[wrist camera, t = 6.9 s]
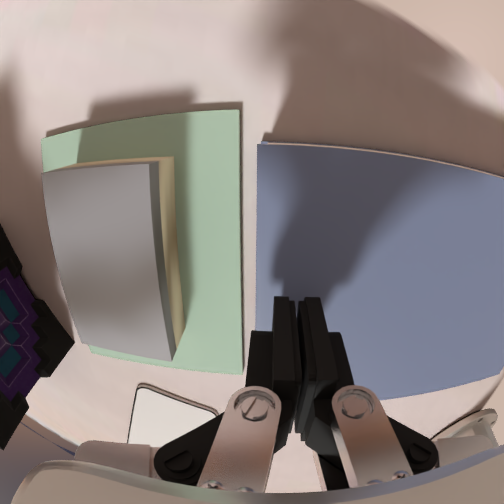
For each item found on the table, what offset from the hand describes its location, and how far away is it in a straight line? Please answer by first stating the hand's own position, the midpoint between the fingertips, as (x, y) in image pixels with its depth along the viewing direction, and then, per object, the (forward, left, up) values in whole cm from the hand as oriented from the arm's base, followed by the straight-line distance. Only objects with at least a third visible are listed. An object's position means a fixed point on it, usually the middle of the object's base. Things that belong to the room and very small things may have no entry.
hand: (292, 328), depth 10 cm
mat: (0, +8, -5) cm, 10 cm away
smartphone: (-19, +11, -6) cm, 23 cm away
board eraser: (+1, +9, -3) cm, 9 cm away
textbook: (0, -8, -5) cm, 9 cm away
